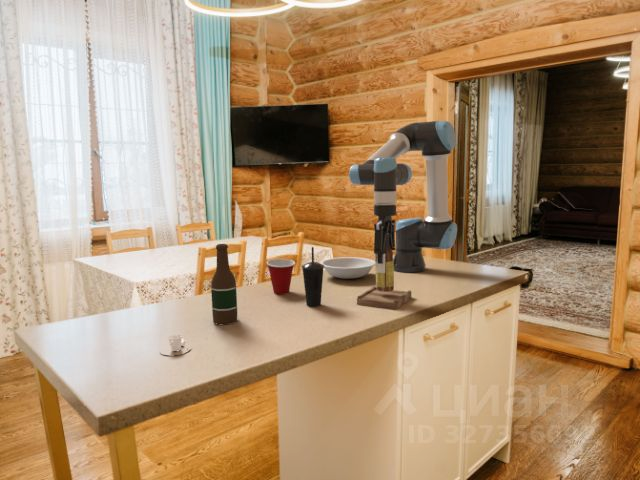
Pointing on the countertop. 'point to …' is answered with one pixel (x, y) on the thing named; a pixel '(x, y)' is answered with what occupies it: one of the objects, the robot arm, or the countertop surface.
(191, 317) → the countertop surface
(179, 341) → the teacup and saucer
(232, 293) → the beer bottle
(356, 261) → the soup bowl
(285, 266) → the plastic cup
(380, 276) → the sauce bottle
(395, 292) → the board
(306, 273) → the drinking cup
